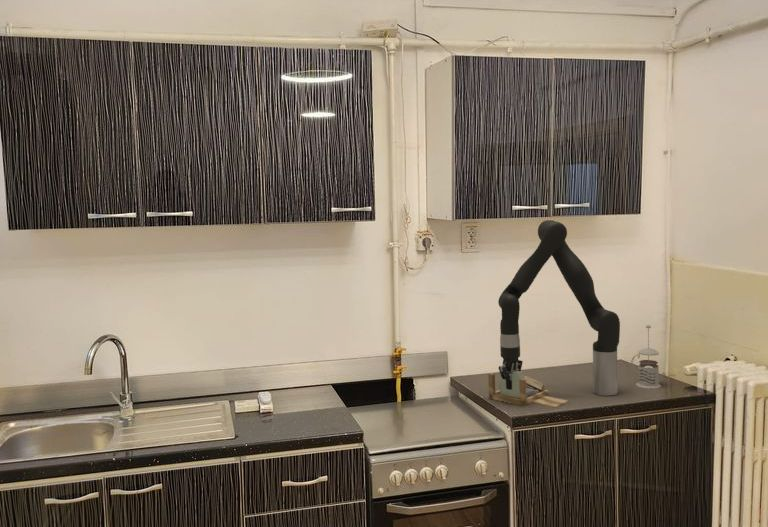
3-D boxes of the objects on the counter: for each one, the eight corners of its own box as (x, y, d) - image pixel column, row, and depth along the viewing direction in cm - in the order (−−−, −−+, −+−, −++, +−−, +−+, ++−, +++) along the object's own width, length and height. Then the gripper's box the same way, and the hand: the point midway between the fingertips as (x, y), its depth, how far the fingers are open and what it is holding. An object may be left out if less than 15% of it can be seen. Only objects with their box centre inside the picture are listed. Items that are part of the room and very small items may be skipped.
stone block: (522, 394, 287) (503, 393, 282) (524, 383, 287) (505, 382, 282) (541, 402, 276) (522, 402, 272) (543, 390, 276) (524, 389, 271)
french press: (657, 389, 279) (657, 328, 277) (628, 385, 286) (627, 325, 284) (664, 384, 287) (664, 323, 285) (635, 380, 294) (635, 321, 292)
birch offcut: (524, 384, 285) (527, 378, 286) (542, 392, 282) (545, 386, 282) (522, 380, 280) (525, 375, 280) (540, 389, 276) (543, 383, 277)
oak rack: (514, 388, 289) (513, 364, 288) (548, 395, 278) (548, 370, 277) (488, 398, 276) (488, 374, 275) (523, 406, 265) (523, 380, 264)
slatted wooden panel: (545, 397, 275) (545, 396, 275) (568, 401, 268) (568, 400, 268) (532, 402, 268) (532, 401, 268) (556, 407, 261) (556, 406, 261)
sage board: (503, 393, 277) (503, 368, 276) (523, 397, 271) (522, 371, 270) (500, 394, 275) (499, 370, 274) (519, 398, 269) (518, 373, 268)
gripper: (508, 349, 263) (509, 394, 265) (528, 342, 273) (529, 385, 275) (491, 347, 268) (493, 391, 270) (512, 340, 278) (513, 382, 280)
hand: (511, 388), depth 272 cm, fingers closed on sage board, 2 cm apart
